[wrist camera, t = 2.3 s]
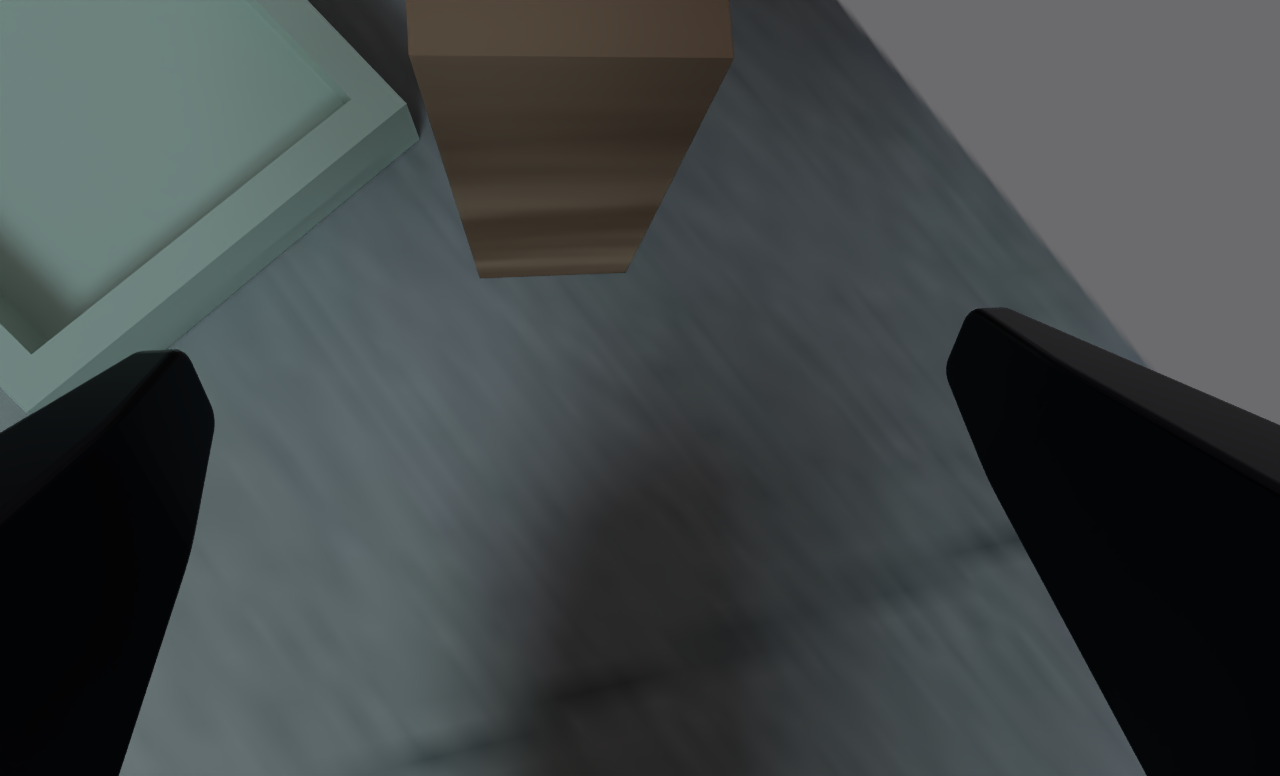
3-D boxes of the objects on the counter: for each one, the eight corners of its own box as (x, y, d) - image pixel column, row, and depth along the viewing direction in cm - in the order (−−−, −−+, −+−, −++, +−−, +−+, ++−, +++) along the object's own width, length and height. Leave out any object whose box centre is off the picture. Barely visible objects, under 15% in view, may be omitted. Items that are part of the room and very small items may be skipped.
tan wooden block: (625, 272, 22) (733, 58, 10) (479, 278, 21) (408, 55, 9) (615, 134, 22) (707, -233, 10) (471, 136, 21) (392, -255, 10)
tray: (83, 417, 19) (26, 412, 17) (-244, 91, 19) (-347, 44, 16) (419, 139, 21) (406, 103, 19) (131, -161, 21) (83, -233, 18)
